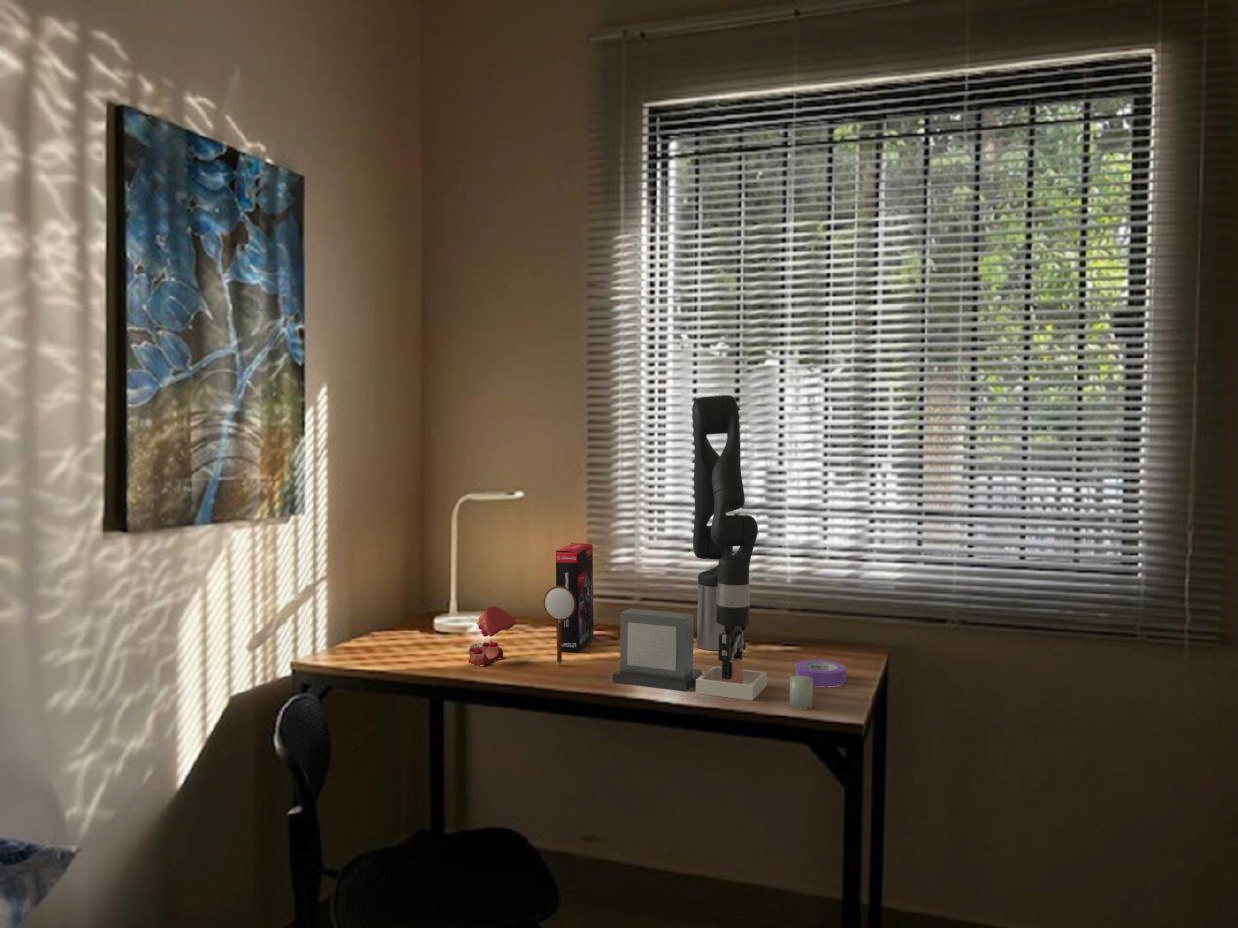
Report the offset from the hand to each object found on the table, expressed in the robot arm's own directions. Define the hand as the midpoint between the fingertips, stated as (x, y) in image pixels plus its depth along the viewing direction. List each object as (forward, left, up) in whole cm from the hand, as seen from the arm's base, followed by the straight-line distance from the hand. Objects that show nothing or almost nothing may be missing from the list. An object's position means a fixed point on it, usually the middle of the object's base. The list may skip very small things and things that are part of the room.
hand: (732, 674), depth 205 cm
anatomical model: (+2, -63, -4) cm, 63 cm away
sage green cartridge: (+6, +17, -3) cm, 18 cm away
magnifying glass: (-2, -45, -4) cm, 45 cm away
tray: (0, 0, -3) cm, 3 cm away
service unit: (0, -18, -3) cm, 18 cm away
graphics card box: (-23, -51, -4) cm, 56 cm away
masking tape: (-16, +17, -4) cm, 24 cm away
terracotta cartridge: (0, 0, -3) cm, 3 cm away
